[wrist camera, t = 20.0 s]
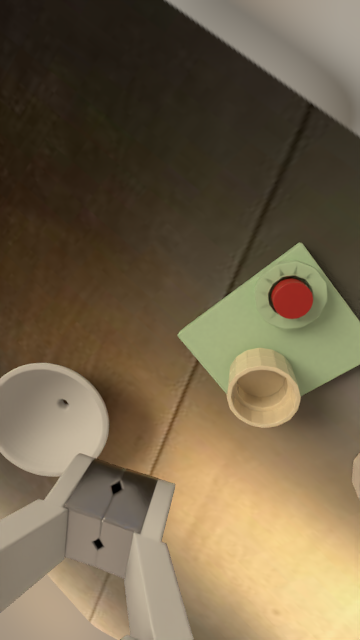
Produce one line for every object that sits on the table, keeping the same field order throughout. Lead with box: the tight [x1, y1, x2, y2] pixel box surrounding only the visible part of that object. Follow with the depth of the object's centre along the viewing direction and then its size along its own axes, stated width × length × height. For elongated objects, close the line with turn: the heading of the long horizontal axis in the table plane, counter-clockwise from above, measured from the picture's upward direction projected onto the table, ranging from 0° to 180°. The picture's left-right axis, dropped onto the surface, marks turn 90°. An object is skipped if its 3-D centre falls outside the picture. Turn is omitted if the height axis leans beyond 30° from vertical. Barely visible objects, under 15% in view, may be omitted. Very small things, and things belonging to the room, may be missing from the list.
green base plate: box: [177, 243, 360, 396], centre depth 30 cm, size 15×13×3 cm
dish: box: [0, 363, 109, 476], centre depth 37 cm, size 18×14×5 cm
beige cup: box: [227, 348, 301, 428], centre depth 29 cm, size 6×6×4 cm
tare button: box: [271, 278, 313, 319], centre depth 26 cm, size 3×3×2 cm
